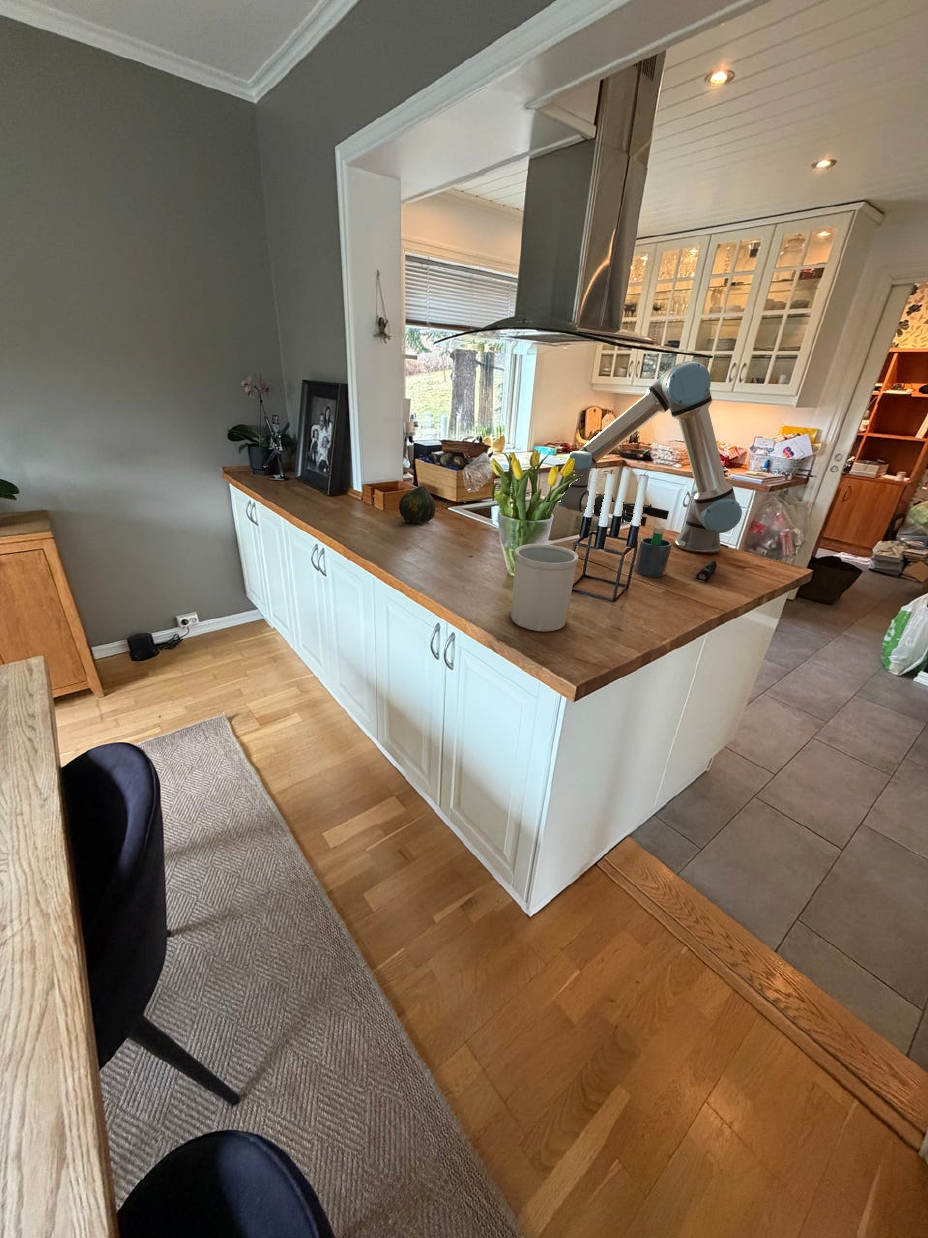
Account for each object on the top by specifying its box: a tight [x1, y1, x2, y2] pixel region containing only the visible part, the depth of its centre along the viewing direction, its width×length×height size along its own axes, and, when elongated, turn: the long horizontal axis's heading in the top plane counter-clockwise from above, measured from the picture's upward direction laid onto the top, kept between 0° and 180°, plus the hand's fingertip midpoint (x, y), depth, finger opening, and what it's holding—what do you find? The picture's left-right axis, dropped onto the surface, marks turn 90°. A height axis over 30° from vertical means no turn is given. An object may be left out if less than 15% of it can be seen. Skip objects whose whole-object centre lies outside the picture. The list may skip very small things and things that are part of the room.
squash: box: [398, 485, 436, 524], centre depth 196 cm, size 14×15×15 cm
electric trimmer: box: [695, 560, 718, 583], centre depth 154 cm, size 4×16×3 cm, turn 142°
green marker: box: [651, 525, 665, 546], centre depth 152 cm, size 3×3×14 cm
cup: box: [634, 537, 672, 578], centre depth 153 cm, size 9×9×10 cm
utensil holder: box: [510, 543, 579, 632], centre depth 117 cm, size 15×15×18 cm
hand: (656, 518), depth 149 cm, fingers open, 13 cm apart
